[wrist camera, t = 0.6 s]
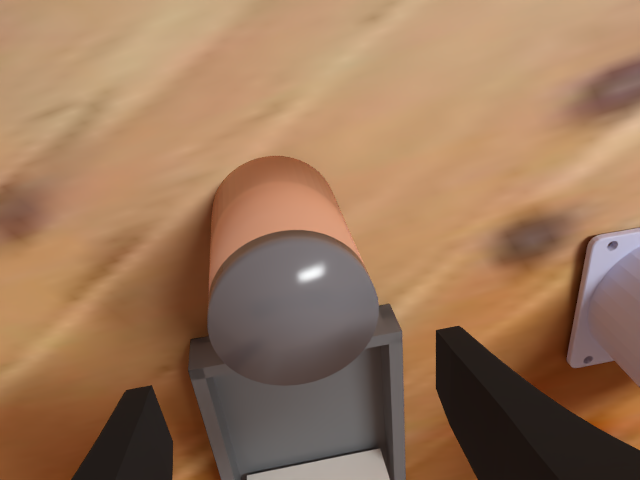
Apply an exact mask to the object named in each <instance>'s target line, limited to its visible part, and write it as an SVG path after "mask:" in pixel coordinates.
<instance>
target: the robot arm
mask: <svg viewBox="0 0 640 480" xmlns="http://www.w3.org/2000/svg"><path fill="white" fill-rule="evenodd" d="M610 242H612V243H611V244H610V245H609V246H608V244H609V243H610ZM610 361H615V362H616V363H617V364H618V365H619V366H620V367H621V368H622V369H623V370H624V371H625V372H626V374H627V375H628V376H629V377H630V378H631V379H632V380H633V381H634V382H635V383H636V384H637V385H638V386H639V387H640V228H635V229H629V230H624V231H618V232H612V233H606V234H601V235H597V236H595V237H593V238H592V239H591V240H590V241H589V243H588V246H587V251H586V257H585V262H584V268H583V273H582V278H581V284H580V289H579V295H578V300H577V305H576V311H575V316H574V321H573V327H572V332H571V338H570V343H569V348H568V354H567V362H568V363H569V365H570V366H571V367H573V368H580V367H585V366H590V365H595V364H600V363H605V362H610ZM436 389H437V392H438V395H439V398H440V400H441V403H442V406H443V409H444V411H445V414H446V416H447V419H448V421H449V424H450V426H451V428H452V430H453V432H454V434H455V436H456V438H457V440H458V442H459V444H460V446H461V448H462V450H463V452H464V454H465V455H466V457H467V459H468V461H469V463H470V465H471V467H472V469H473V471H474V473H475V475H476V477H477V478H478V480H640V450H638V449H636V448H634V447H632V446H630V445H628V444H626V443H624V442H622V441H621V440H619V439H617V438H615V437H613V436H611V435H609V434H607V433H606V432H604V431H602V430H600V429H598V428H597V427H595V426H593V425H592V424H590V423H588V422H587V421H585V420H583V419H582V418H580V417H578V416H577V415H575V414H573V413H572V412H570V411H569V410H567V409H566V408H564V407H563V406H561V405H560V404H558V403H557V402H555V401H554V400H552V399H551V398H550V397H548V396H547V395H545V394H544V393H542V392H541V391H540V390H538V389H537V388H535V387H534V386H533V385H531V384H530V383H529V382H527V381H526V380H525V379H524V378H522V377H521V376H520V375H518V374H517V373H516V372H514V371H513V370H512V369H511V368H509V367H508V366H507V365H506V364H504V363H503V362H502V361H501V360H499V359H498V358H497V357H496V356H495V355H493V354H492V353H491V352H490V351H489V350H487V349H486V348H485V347H484V346H483V345H481V344H480V343H479V342H478V341H477V340H476V339H474V338H473V337H472V336H471V335H470V334H469V333H468V332H466V331H465V330H464V329H463V328H461V327H460V326H455V327H450V328H445V329H440V330H436ZM172 471H173V440H172V438H171V435H170V432H169V430H168V427H167V425H166V422H165V419H164V417H163V414H162V411H161V409H160V406H159V403H158V401H157V398H156V395H155V393H154V390H153V387H152V385H151V386H146V387H141V388H135V389H130V390H126V392H125V393H124V394H123V396H122V398H121V399H120V401H119V403H118V404H117V406H116V408H115V410H114V411H113V413H112V415H111V417H110V418H109V420H108V422H107V423H106V425H105V427H104V428H103V430H102V432H101V433H100V435H99V437H98V438H97V440H96V442H95V443H94V445H93V446H92V448H91V450H90V451H89V453H88V454H87V456H86V458H85V459H84V461H83V462H82V464H81V465H80V467H79V469H78V470H77V472H76V473H75V475H74V476H73V478H72V479H71V480H172Z"/></svg>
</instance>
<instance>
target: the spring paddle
mask: <svg viewBox="0 0 640 480" xmlns="http://www.w3.org/2000/svg"><path fill="white" fill-rule="evenodd" d="M247 480H390V479H389V475H388V472H387V469H386V466H385V462H384V459H383V456H382V453H381V450H380V448H379V449H374V450H370V451H365V452H360V453H355V454H350V455H345V456H340V457H335V458H330V459H325V460H320V461H316V462H311V463H306V464H301V465H296V466H291V467H286V468H281V469H276V470H271V471H266V472H262V473H257V474H252V475H247Z"/></svg>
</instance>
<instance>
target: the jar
mask: <svg viewBox="0 0 640 480" xmlns="http://www.w3.org/2000/svg"><path fill="white" fill-rule="evenodd" d="M378 316H379V304H378V297H377V294H376V291H375V288H374V286H373V284H372V281H371V279H370V277H369V275H368V272H367V270H366V268H365V265H364V263H363V261H362V259H361V256H360V254H359V252H358V249H357V247H356V245H355V243H354V240H353V238H352V236H351V233H350V231H349V229H348V227H347V224H346V222H345V220H344V217H343V215H342V213H341V210H340V208H339V206H338V204H337V201H336V199H335V197H334V194H333V192H332V190H331V188H330V186H329V184H328V183H327V181H326V180H325V178H324V177H323V176H322V175H321V174H320V173H319V172H318V171H317V170H316V169H314V168H313V167H312V166H310V165H308V164H307V163H305V162H302V161H300V160H297V159H294V158H290V157H284V156H268V157H262V158H257V159H254V160H252V161H249V162H247V163H245V164H243V165H241V166H239V167H238V168H236V169H235V170H234V171H233V172H231V173H230V174H229V175H228V176H227V177H226V178H225V180H224V181H223V182H222V184H221V185H220V187H219V188H218V190H217V193H216V195H215V198H214V201H213V206H212V221H211V246H210V270H209V295H208V334H209V338H210V341H211V344H212V346H213V348H214V350H215V352H216V354H217V355H218V356H219V357H220V359H221V360H222V361H223V362H224V363H225V364H226V365H227V366H228V367H229V368H231V369H232V370H233V371H235V372H236V373H238V374H240V375H242V376H243V377H245V378H248V379H250V380H253V381H256V382H260V383H264V384H270V385H281V386H288V385H300V384H306V383H310V382H314V381H317V380H320V379H323V378H326V377H328V376H330V375H332V374H334V373H336V372H338V371H340V370H341V369H343V368H344V367H346V366H347V365H349V364H350V363H351V362H352V361H353V360H355V359H356V358H357V357H358V356H359V355H360V354H361V352H362V351H363V350H364V349H365V348H366V346H367V345H368V343H369V342H370V340H371V338H372V336H373V334H374V332H375V329H376V326H377V322H378Z"/></svg>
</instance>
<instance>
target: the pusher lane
mask: <svg viewBox="0 0 640 480" xmlns="http://www.w3.org/2000/svg"><path fill="white" fill-rule="evenodd" d="M188 372H189V375H190V378H191V382H192V385H193V388H194V392H195V395H196V398H197V401H198V405H199V408H200V411H201V415H202V418H203V421H204V425H205V428H206V431H207V434H208V438H209V441H210V444H211V448H212V451H213V454H214V457H215V461H216V464H217V467H218V471H219V474H220V477H221V480H247V475H252V474H257V473H262V472H266V471H271V470H276V469H281V468H286V467H291V466H296V465H301V464H306V463H311V462H316V461H320V460H325V459H330V458H335V457H340V456H345V455H350V454H355V453H360V452H365V451H370V450H374V449H379V448H380V450H381V453H382V456H383V459H384V462H385V466H386V469H387V472H388V475H389V479H390V480H406V472H405V430H404V389H403V347H402V330H401V328H400V325H399V323H398V321H397V319H396V317H395V315H394V312H393V310H392V308H391V306H390V304H386V305H380V306H379V316H378V322H377V326H376V329H375V332H374V334H373V336H372V338H371V340H370V342H369V343H368V345H367V346H366V348H365V349H364V350H363V351H362V352H361V354H360V355H359V356H358V357H357V358H356V359H355V360H353V361H352V362H351V363H350V364H349V365H347V366H346V367H344V368H343V369H341V370H340V371H338V372H336V373H334V374H332V375H330V376H328V377H326V378H323V379H320V380H317V381H314V382H310V383H306V384H300V385H288V386H281V385H270V384H264V383H260V382H256V381H253V380H250V379H248V378H245V377H243V376H242V375H240V374H238V373H236V372H235V371H233V370H232V369H231V368H229V367H228V366H227V365H226V364H225V363H224V362H223V361H222V360H221V359H220V357H219V356H218V355H217V354H216V352H215V350H214V348H213V346H212V344H211V341H210V338H209V336H207V337H201V338H196V339H191V341H190V353H189V366H188Z"/></svg>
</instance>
